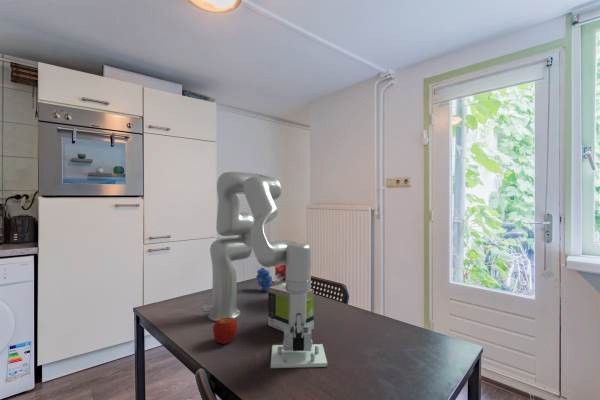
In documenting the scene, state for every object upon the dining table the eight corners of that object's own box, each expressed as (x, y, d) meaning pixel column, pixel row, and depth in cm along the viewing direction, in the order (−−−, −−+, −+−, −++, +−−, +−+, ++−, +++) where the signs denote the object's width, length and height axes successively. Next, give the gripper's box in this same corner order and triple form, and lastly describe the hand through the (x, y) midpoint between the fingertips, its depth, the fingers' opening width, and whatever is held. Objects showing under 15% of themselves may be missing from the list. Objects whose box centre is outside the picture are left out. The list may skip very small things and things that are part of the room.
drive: (283, 350, 85) (283, 333, 85) (285, 342, 90) (285, 325, 90) (311, 351, 85) (311, 333, 85) (311, 342, 90) (311, 326, 90)
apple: (211, 338, 99) (212, 315, 99) (235, 334, 102) (235, 312, 102) (214, 349, 92) (214, 324, 92) (239, 344, 95) (239, 320, 95)
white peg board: (270, 368, 81) (270, 357, 81) (272, 348, 92) (272, 338, 92) (327, 366, 82) (327, 355, 82) (322, 347, 93) (322, 337, 93)
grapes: (250, 290, 154) (250, 267, 154) (260, 287, 159) (260, 265, 159) (265, 294, 146) (265, 271, 146) (275, 291, 151) (275, 268, 151)
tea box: (314, 329, 107) (314, 288, 107) (295, 338, 99) (296, 295, 99) (286, 318, 117) (286, 281, 117) (267, 325, 109) (267, 286, 110)
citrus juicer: (264, 303, 133) (264, 260, 134) (290, 294, 147) (290, 254, 147) (289, 311, 123) (289, 264, 124) (314, 301, 137) (314, 258, 137)
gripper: (285, 277, 96) (285, 332, 96) (285, 294, 79) (285, 361, 79) (308, 277, 96) (308, 332, 96) (313, 293, 79) (312, 360, 79)
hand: (297, 344), depth 87 cm, fingers closed on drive, 5 cm apart
